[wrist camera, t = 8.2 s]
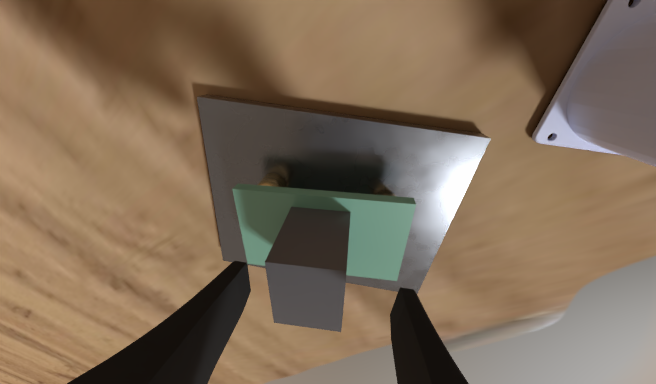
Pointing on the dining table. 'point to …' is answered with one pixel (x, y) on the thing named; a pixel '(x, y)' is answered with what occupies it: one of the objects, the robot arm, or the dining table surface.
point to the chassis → (339, 168)
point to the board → (366, 225)
